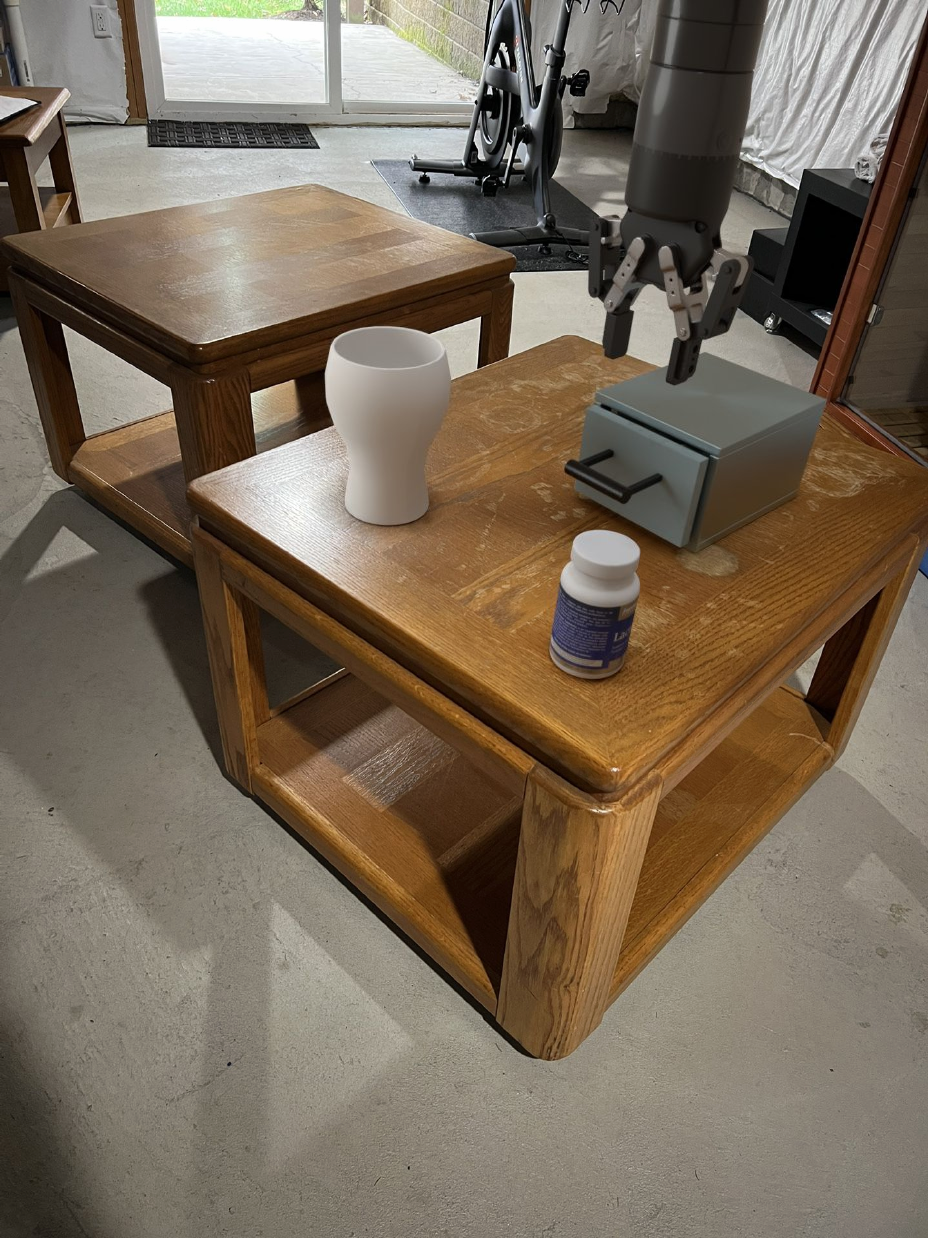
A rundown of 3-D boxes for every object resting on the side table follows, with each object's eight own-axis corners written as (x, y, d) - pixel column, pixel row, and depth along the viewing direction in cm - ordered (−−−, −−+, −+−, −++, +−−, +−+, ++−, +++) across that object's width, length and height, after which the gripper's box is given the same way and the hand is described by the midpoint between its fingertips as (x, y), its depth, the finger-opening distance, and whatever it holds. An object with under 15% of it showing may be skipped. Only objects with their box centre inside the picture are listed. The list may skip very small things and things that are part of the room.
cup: (426, 471, 92) (432, 320, 83) (458, 527, 84) (469, 367, 75) (319, 481, 89) (313, 326, 80) (341, 541, 81) (337, 376, 72)
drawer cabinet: (695, 553, 83) (721, 448, 77) (579, 490, 91) (595, 390, 84) (796, 496, 92) (827, 399, 86) (684, 444, 100) (705, 351, 94)
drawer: (639, 570, 78) (657, 482, 73) (531, 508, 85) (542, 423, 80) (777, 494, 90) (802, 414, 85) (673, 445, 97) (690, 368, 92)
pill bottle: (622, 688, 68) (647, 575, 62) (544, 675, 68) (561, 562, 62) (625, 640, 72) (648, 530, 66) (552, 628, 73) (568, 519, 67)
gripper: (806, 155, 63) (745, 388, 74) (641, 117, 72) (607, 332, 82) (743, 166, 59) (688, 412, 70) (575, 124, 67) (548, 350, 78)
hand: (644, 368), depth 76 cm, fingers open, 5 cm apart
